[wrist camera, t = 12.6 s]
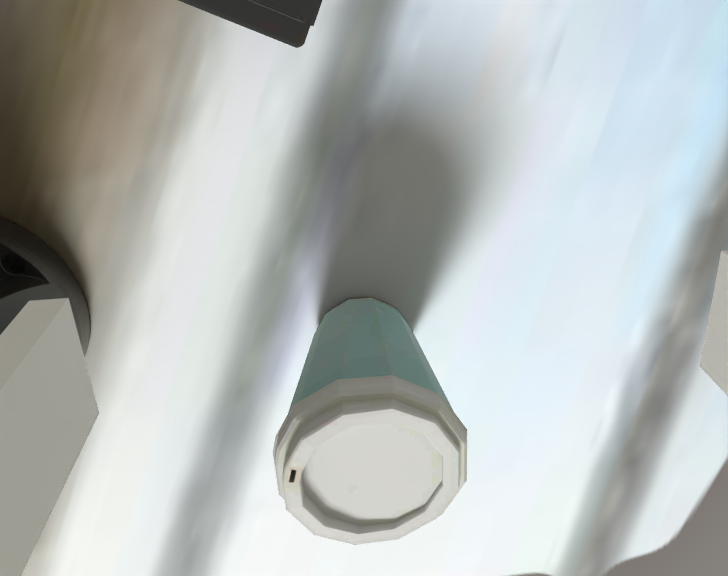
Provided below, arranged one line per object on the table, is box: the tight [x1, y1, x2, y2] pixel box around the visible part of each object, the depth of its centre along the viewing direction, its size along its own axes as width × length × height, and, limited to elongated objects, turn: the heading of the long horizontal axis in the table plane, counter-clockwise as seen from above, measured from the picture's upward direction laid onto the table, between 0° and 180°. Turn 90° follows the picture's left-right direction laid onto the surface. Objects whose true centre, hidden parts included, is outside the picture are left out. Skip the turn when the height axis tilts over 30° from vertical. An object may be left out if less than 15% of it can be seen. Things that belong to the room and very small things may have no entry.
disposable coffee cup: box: [273, 298, 467, 545], centre depth 42 cm, size 11×11×15 cm
